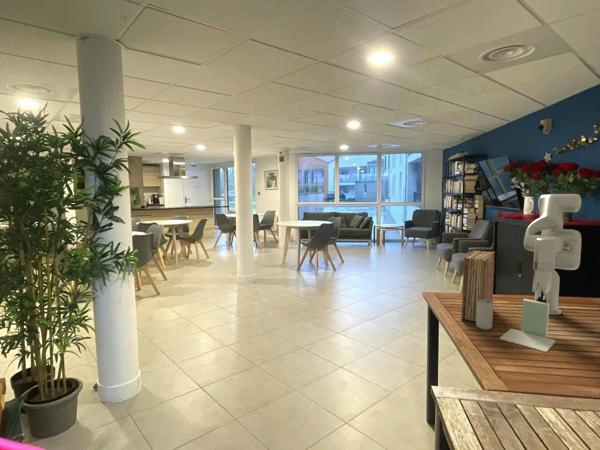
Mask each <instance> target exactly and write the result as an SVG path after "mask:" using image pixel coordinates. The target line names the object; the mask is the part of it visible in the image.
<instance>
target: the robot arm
mask: <svg viewBox="0 0 600 450" xmlns="http://www.w3.org/2000/svg"><path fill="white" fill-rule="evenodd" d="M537 207H538V211H539V218H537V219H535V220H534V221H532V222H531V223H530V224H529V225H528V226H527V227H526V230H525V233H524V239H523V247H524V249H525V250H527V251H529V252H533V264H532V269H533V270H534V272H533V273H534V274H533V278H532V279H533V280H532V286H531V287H532V288H531V292H532V293H534V301H539V302H544V303H549V316H557V315H561V314H562V310H561V309H560V308H559V307H558V306H559V296H560V295H559V293H560V281H561V280H560V279H561V277H560V276H559V274H558V272H557V271H556V270H555V269H559V270H566V271H574V270H577V269H579V267H580V264H581V254H582V253H581V252H582V235H581V232H580V231H579V230H575V229H568V228H567V229H566V228H564V220H563V213H577V212H579V210H580V209H581V207H582V197H581V195H580V194H578V193H550V194H549V193H547V194H542V195H540V196H538V200H537ZM538 232H541V234H536V233H538Z"/></svg>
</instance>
